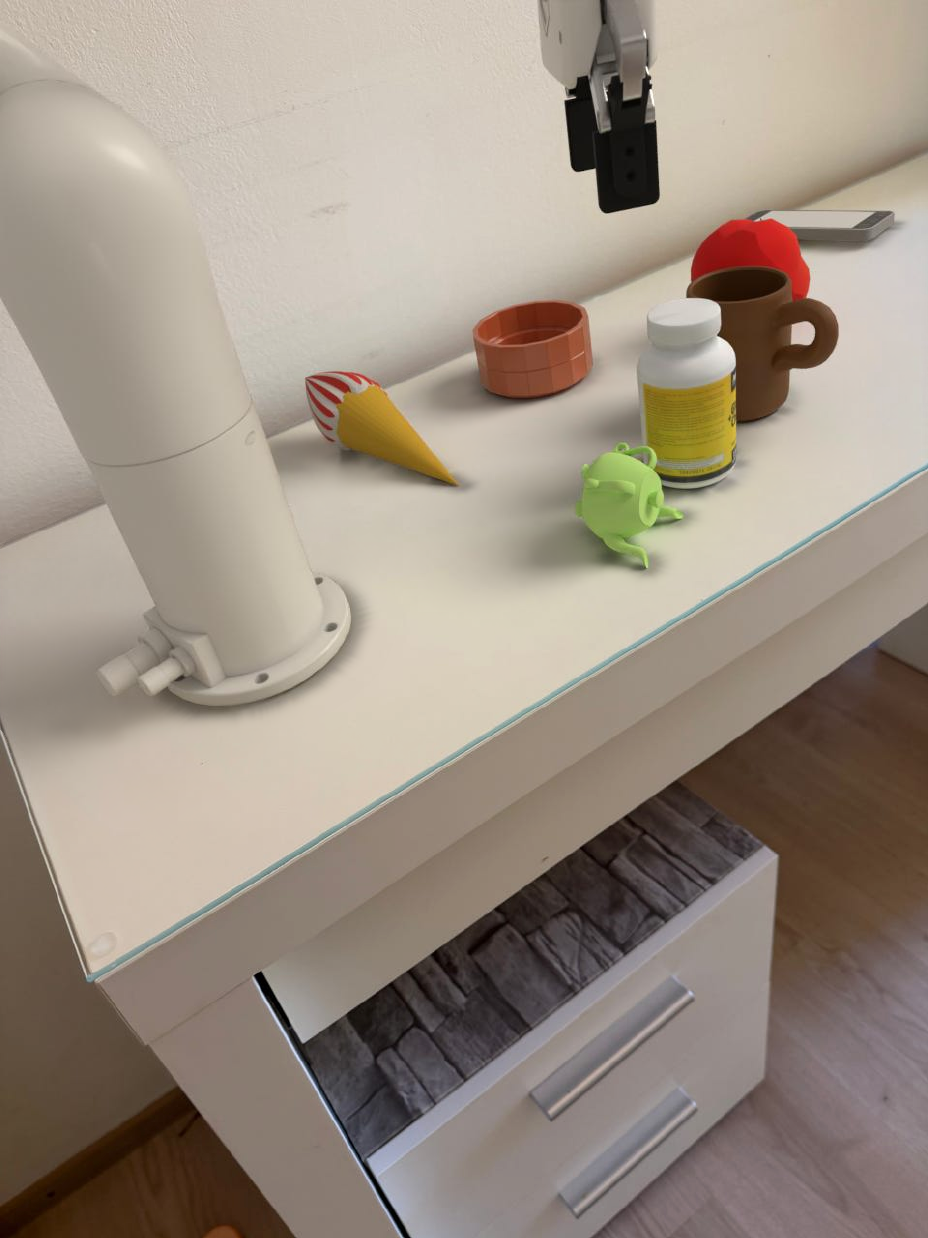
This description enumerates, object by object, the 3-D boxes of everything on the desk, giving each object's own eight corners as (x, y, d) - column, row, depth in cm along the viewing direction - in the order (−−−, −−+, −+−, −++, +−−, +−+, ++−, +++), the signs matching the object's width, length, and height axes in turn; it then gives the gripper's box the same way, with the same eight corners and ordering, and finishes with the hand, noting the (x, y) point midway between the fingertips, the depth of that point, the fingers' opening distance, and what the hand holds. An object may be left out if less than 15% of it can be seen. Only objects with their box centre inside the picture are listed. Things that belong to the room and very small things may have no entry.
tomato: (658, 292, 85) (709, 229, 86) (741, 367, 86) (789, 303, 87) (706, 242, 76) (762, 172, 77) (799, 327, 77) (852, 256, 78)
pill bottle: (737, 490, 64) (736, 326, 57) (641, 495, 66) (629, 336, 59) (735, 443, 69) (735, 287, 62) (646, 449, 71) (635, 297, 64)
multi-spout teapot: (646, 568, 59) (640, 490, 55) (570, 554, 62) (560, 478, 58) (683, 516, 63) (680, 440, 59) (610, 505, 65) (602, 431, 62)
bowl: (544, 410, 79) (536, 354, 76) (459, 390, 85) (449, 337, 82) (615, 361, 84) (610, 307, 81) (530, 346, 90) (522, 294, 87)
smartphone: (869, 229, 93) (729, 226, 102) (868, 240, 93) (729, 237, 102) (897, 210, 97) (760, 209, 106) (896, 221, 97) (760, 219, 106)
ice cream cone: (451, 535, 74) (303, 424, 84) (500, 470, 74) (345, 367, 84) (414, 505, 69) (260, 390, 79) (467, 435, 68) (306, 329, 78)
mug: (861, 406, 70) (872, 281, 64) (798, 450, 67) (804, 322, 61) (729, 372, 78) (728, 258, 72) (668, 410, 75) (662, 294, 69)
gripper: (488, -171, 51) (530, 166, 61) (524, -198, 37) (571, 241, 48) (625, -203, 50) (644, 142, 61) (713, -242, 37) (718, 211, 47)
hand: (612, 185), depth 54 cm, fingers open, 9 cm apart
